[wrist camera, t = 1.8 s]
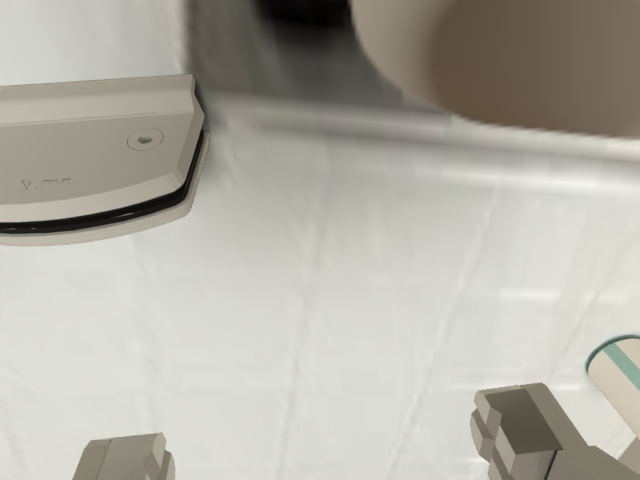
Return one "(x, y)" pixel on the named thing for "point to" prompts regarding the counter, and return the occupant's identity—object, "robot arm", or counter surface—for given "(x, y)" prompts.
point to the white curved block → (97, 158)
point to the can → (620, 378)
